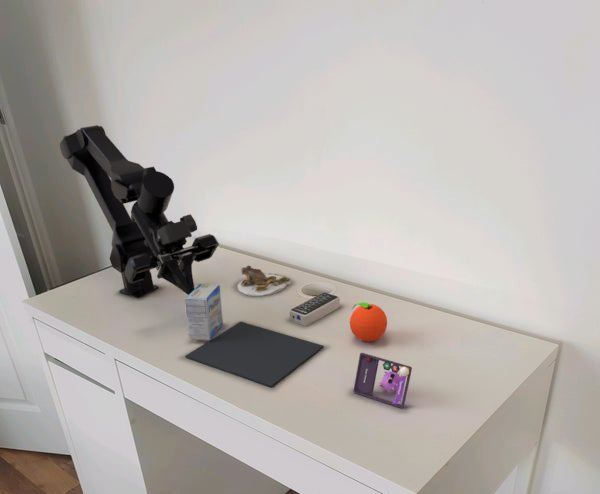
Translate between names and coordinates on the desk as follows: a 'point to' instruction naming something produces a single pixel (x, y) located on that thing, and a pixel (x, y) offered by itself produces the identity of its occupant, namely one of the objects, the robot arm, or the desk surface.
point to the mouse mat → (255, 353)
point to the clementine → (368, 322)
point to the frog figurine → (261, 282)
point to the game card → (390, 379)
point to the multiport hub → (314, 309)
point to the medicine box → (204, 312)
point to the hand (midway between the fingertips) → (193, 295)
